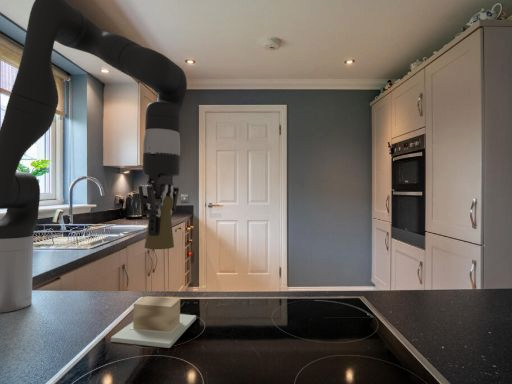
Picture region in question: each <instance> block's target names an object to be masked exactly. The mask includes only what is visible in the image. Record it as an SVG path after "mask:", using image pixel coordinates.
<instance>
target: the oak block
mask: <svg viewBox="0 0 512 384" xmlns="http://www.w3.org/2000/svg"><path fill="white" fill-rule="evenodd" d="M180 314H181V298H174V297H161V296H160V297H159V296H143V297H142V298H141V299H139V300H137V301H136V302H134V303H133V314H132V315H133V319H132V322H133V328H134V329H145V330H157V331H168V332H171V330H172V329H173V328H174V327H175V326H176V325H177V324H178V323H179V322H180Z"/></svg>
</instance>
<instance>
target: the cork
mask: <svg viewBox="0 0 512 384" xmlns="http://www.w3.org/2000/svg"><path fill="white" fill-rule="evenodd" d="M155 201H157V202H158V201H160V199H155ZM172 208H173V199H172V197H170V196H167V195H166V197H165V199H164V205H163V206H161V215H160V217H158V218H161V221H160V231H159V235H158V236H150V235H149V222H147V223H148V224H147V228H146V229H147V230H146V236H145V242H144V249H147V250H148V249H149V250H167V249H173V248H175V244H174V243H175V242H174V233H173V223H172V215H171V212H170V211H171V209H172ZM156 210H157V205H156Z"/></svg>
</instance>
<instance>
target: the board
mask: <svg viewBox="0 0 512 384" xmlns="http://www.w3.org/2000/svg"><path fill="white" fill-rule="evenodd" d="M196 320H197V315H194V314H192V315H191V314H184V313H183V314H182V313H180V322H179V323H178V324H177V325H176V326H175V327H174V328H173V329H172V330H171V332H168V331H157V330H145V329H134V328H133V321H132V322H130V323H129V324H127V325H126V326H125V327H123V328H122V329H121V330H119V331H118V332H115V334H114V335H112V336H111V337H110V342H111V343H122V344H128V345H129V344H131V345H138V346H148V347H158V348H166V349H170V348H171V347H172V346H173V345H174V344H175V343H176V342H177V340H178V339H179V338H180V337H182V336H183V334H184V333H185V332H186V330H187V329H188V328H189V327H191V325H192V324H193V323H194V322H195V321H196Z"/></svg>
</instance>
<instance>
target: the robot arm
mask: <svg viewBox="0 0 512 384" xmlns="http://www.w3.org/2000/svg"><path fill="white" fill-rule="evenodd" d="M27 22H28V23H27V27H26V31H25V32H26V33H25V38H24V43H23V49H22V50H23V51H22V54H21V58H20V62H19V65H18V70H17V74H16V76H15V79H14V83H13V86H12V89H11V90H10V91H11V92H10V94H9V98H8V100H7V104H6V108H5V112H4V117H3V120H2V123H1V125H0V209H1V210H4V209H6V212H5V214H4V216H2V218H0V314H1V313H8V312H13V311H18V310H22V309H24V308H27V307H29V306H30V305H31V304H32V299H33V298H32V297H33V273H34V271H33V269H34V237H35V236H34V235H35V234H34V233H35V229H36V226H37V224H38V221H39V210H40V200H41V198H40V197H41V186H40V182H39V180H38V178H37V177H36V176H35V175H34V174H32V173H30V172H26V171H18V168H19V165H20V162H21V161H22V158H23V157H24V155H25V154H26V153H27V151H29V149H30V148H31V147H32V146H33V145H35V143H36V142H38V141H39V140H40V139H41V138H42V137H43V136H44V135H46V133H47V132H48V131H49V130H50V128H51V127H52V124H53V122H54V120H55V119H54V118H55V116H56V112H57V109H58V105H59V91H58V86H57V83H56V79H55V76H54V75H55V74H54V71H53V65H52V57H53V56H52V55H53V50H54V46H55V42H57V43H58V44H60V45H62V46H64V47H68V48H71V49H74V50H77V51H80V52H83V53H87V54H90V55H93V56H94V57H97V58H98V59H100V60H102V61H103V62H104V63H106V64H107V65H109V66H111V67H112V68H114V69H115V70H118V71H119V72H121V73H123V74H125V75H126V76H129V77H132V78H133V79H136V80H137V81H139V82H140V83H142V84H144V85H146V86H147V87H149V88H151V89H152V90H154V91H155V92H157V99H156V101H153V102H150V103H148V104H147V106H146V108H145V119H144V120H145V121H144V136H143V141H142V145H143V146H142V170H141V171H142V174H143V175H145V176H148V178H147V181H146V184H145V185H144V184H143V185H142V184H140V185H139V187H138V192H139V198H140V206H141V212H142V215H146V217H147V218H148V223H149V235H150V236H158V235H159V231H160V221H161V218H158V217H160V215H161V206H163V205H164V199H165V197H166V195H167V196H170V197H172V199H173V208H172V209H171V211H170V212H171V216H172V214H173V213H176V210H177V203H178V197H179V191H180V189H179V187H177V186H174V182H173V177H178V176H180V170H181V169H180V167H181V165H180V164H181V163H180V162H181V161H180V160H181V138H180V123H181V120H180V119H181V118H180V115H181V111H182V108H183V106H184V103H185V101H184V100H185V97H186V93H187V87H188V86H187V85H188V82H187V76H186V73H185V72H184V70H183V68H181V67H180V66H179V65H178V64H176V63H175V62H174V61H173V60H171V58H169V57H167V56H166V55H164V54H162V52H159V51H158V50H157V51H156V50H153V49H151V48H149V47H145V46H142V45H140V44H139V43H137V42H135V41H133V40H132V39H129V38H127V37H125V36H123V35H121V34H119V33H118V34H117V33H115V32H107V31H105V30H103V29H102V28H100V27H98V26H97V25H96V24H95V23H94V22H92V21H91V20H90V19H89V18H87V17H86V16H85V15H84V14H83V13H82V11H81V10H79V9H78V8H76V7H75V6H74V5H72V4H71V3H70V2H68V1H67V0H34V2H33V3H32V6H31V9H30V12H29V17H28V21H27ZM155 199H160V201H158V202H157V201H155ZM156 205H157V210H156Z"/></svg>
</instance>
